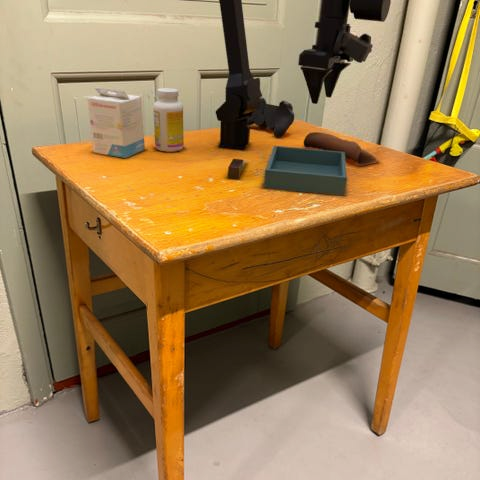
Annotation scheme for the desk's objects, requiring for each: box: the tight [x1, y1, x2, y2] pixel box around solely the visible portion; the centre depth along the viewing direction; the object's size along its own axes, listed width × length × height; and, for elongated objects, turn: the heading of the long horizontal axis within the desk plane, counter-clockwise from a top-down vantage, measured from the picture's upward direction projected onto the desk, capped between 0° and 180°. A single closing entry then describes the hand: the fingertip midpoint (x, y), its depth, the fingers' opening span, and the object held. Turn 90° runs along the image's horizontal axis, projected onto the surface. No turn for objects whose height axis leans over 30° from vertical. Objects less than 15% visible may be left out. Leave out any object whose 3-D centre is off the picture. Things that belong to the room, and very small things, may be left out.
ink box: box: [87, 87, 146, 159], centre depth 114 cm, size 9×8×13 cm
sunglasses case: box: [303, 131, 379, 167], centre depth 124 cm, size 18×7×7 cm
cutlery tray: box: [263, 145, 348, 197], centre depth 108 cm, size 16×19×4 cm
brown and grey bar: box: [227, 158, 246, 180], centre depth 110 cm, size 12×2×2 cm, turn 172°
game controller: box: [247, 96, 295, 139], centre depth 140 cm, size 16×7×10 cm, turn 52°
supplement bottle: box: [152, 87, 185, 153], centre depth 119 cm, size 7×7×13 cm
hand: (321, 100), depth 112 cm, fingers open, 9 cm apart
